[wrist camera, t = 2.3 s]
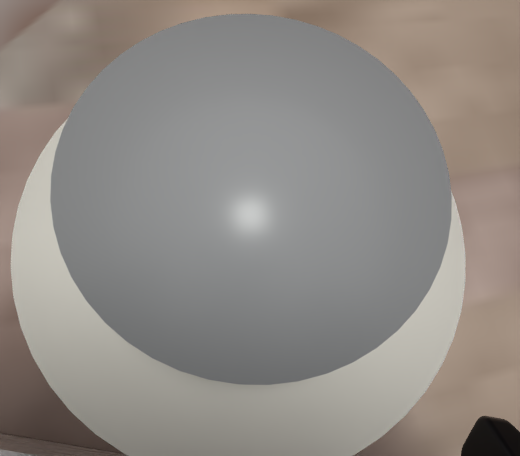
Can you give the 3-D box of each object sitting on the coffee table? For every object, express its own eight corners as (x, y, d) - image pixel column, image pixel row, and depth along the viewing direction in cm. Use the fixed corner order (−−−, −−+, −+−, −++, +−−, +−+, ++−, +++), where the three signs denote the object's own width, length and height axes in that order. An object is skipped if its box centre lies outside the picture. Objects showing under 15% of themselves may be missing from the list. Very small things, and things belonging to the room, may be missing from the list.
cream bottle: (311, 381, 17) (679, 387, 3) (180, 426, 16) (-31, 675, 3) (269, 256, 19) (412, -96, 5) (147, 292, 18) (-107, -11, 4)
